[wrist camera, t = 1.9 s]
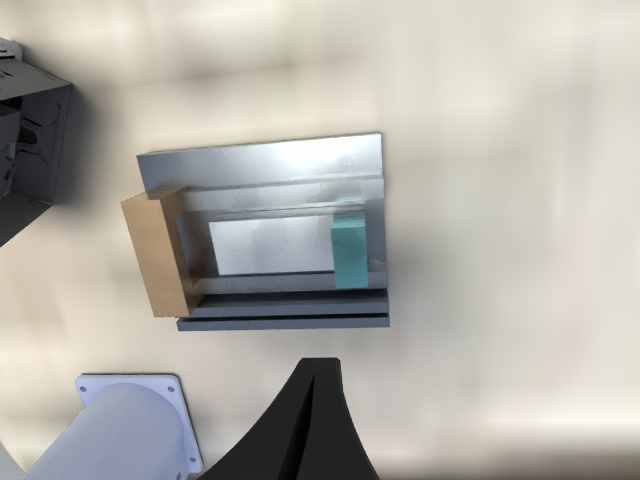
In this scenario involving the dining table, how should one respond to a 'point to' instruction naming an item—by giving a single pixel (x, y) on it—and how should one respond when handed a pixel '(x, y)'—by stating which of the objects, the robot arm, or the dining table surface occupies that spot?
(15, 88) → the electrical switch
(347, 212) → the white and teal block
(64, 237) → the dining table surface
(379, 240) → the base
